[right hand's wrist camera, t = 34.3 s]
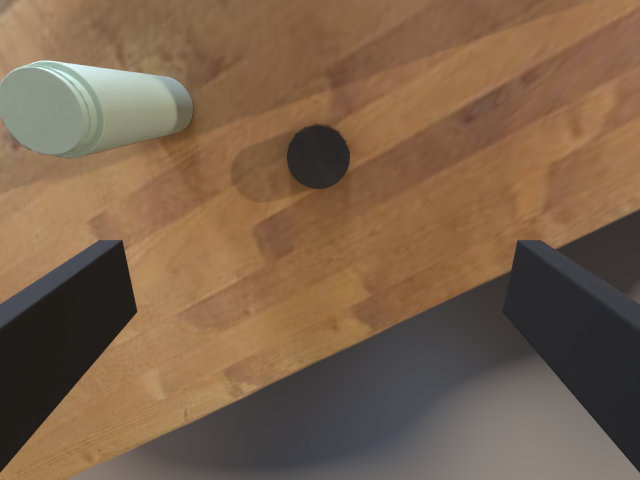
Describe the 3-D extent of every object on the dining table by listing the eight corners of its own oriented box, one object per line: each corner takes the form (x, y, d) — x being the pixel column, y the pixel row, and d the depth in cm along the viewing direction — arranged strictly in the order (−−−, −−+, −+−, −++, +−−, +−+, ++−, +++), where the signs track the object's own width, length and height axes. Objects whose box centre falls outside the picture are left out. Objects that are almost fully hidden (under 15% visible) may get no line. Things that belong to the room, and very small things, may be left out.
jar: (156, 63, 36) (13, 34, 19) (203, 102, 38) (108, 106, 21) (128, 109, 38) (-27, 118, 21) (174, 144, 39) (64, 181, 22)
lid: (277, 140, 39) (275, 141, 38) (334, 112, 38) (334, 113, 37) (303, 195, 41) (303, 198, 40) (358, 170, 40) (359, 173, 39)
